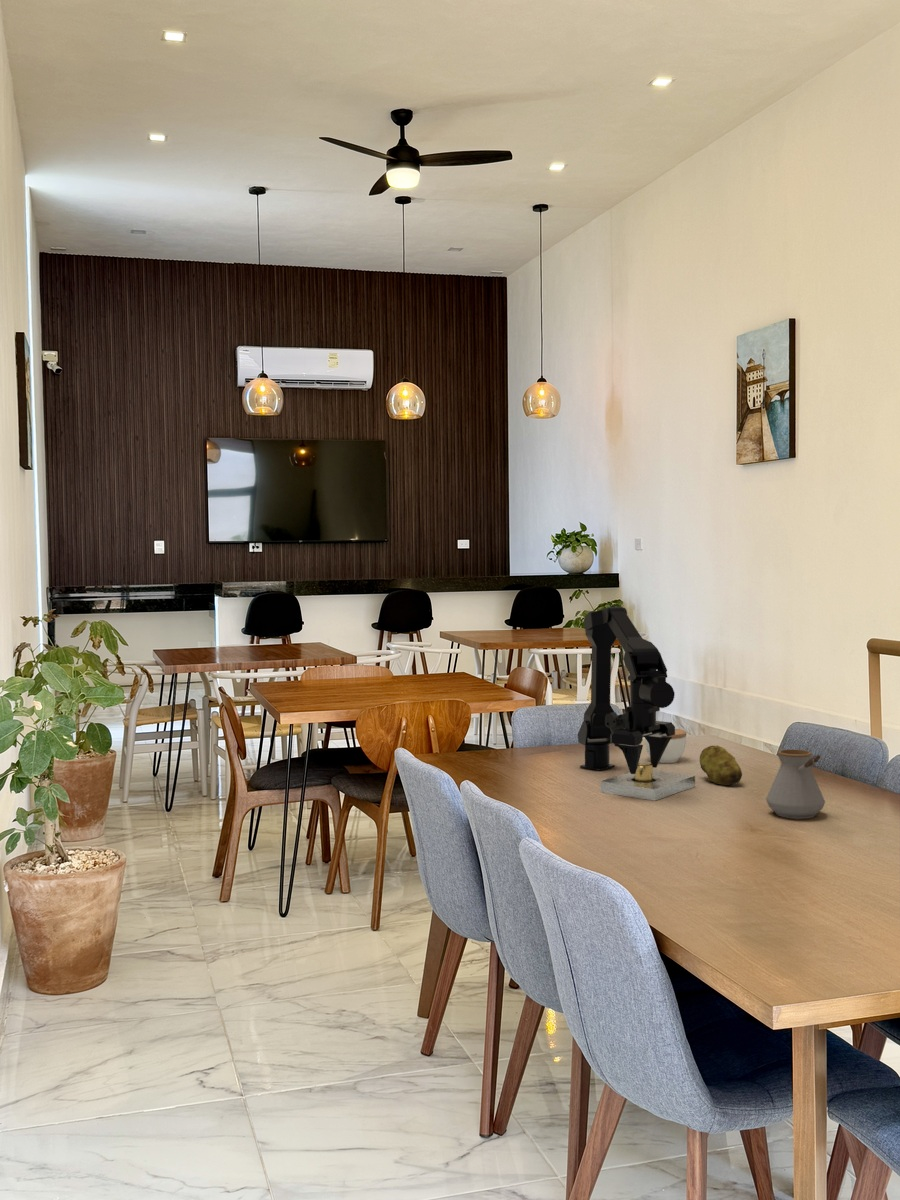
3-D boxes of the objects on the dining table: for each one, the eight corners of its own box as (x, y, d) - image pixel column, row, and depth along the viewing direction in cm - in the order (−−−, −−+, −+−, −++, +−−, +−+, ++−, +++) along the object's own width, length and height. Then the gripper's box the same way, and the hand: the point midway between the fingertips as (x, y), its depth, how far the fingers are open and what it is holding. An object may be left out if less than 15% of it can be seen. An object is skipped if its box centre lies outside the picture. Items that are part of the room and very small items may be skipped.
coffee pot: (759, 808, 228) (759, 737, 227) (814, 807, 228) (814, 736, 227) (789, 834, 207) (789, 756, 206) (849, 833, 206) (849, 755, 206)
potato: (707, 788, 248) (707, 753, 248) (697, 776, 261) (696, 743, 260) (744, 787, 248) (744, 753, 247) (731, 776, 260) (731, 743, 260)
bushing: (640, 788, 249) (640, 762, 249) (655, 790, 246) (655, 764, 246) (631, 791, 246) (631, 765, 246) (646, 793, 243) (646, 767, 243)
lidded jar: (690, 764, 275) (690, 727, 275) (648, 765, 275) (647, 728, 275) (681, 756, 286) (681, 721, 286) (641, 757, 286) (640, 722, 286)
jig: (642, 778, 259) (642, 768, 259) (695, 786, 250) (695, 775, 250) (600, 792, 245) (600, 781, 245) (654, 800, 236) (654, 789, 236)
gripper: (634, 695, 257) (634, 760, 258) (590, 703, 243) (590, 773, 244) (676, 698, 250) (676, 765, 251) (633, 708, 236) (633, 779, 237)
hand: (643, 770), depth 246 cm, fingers open, 9 cm apart
